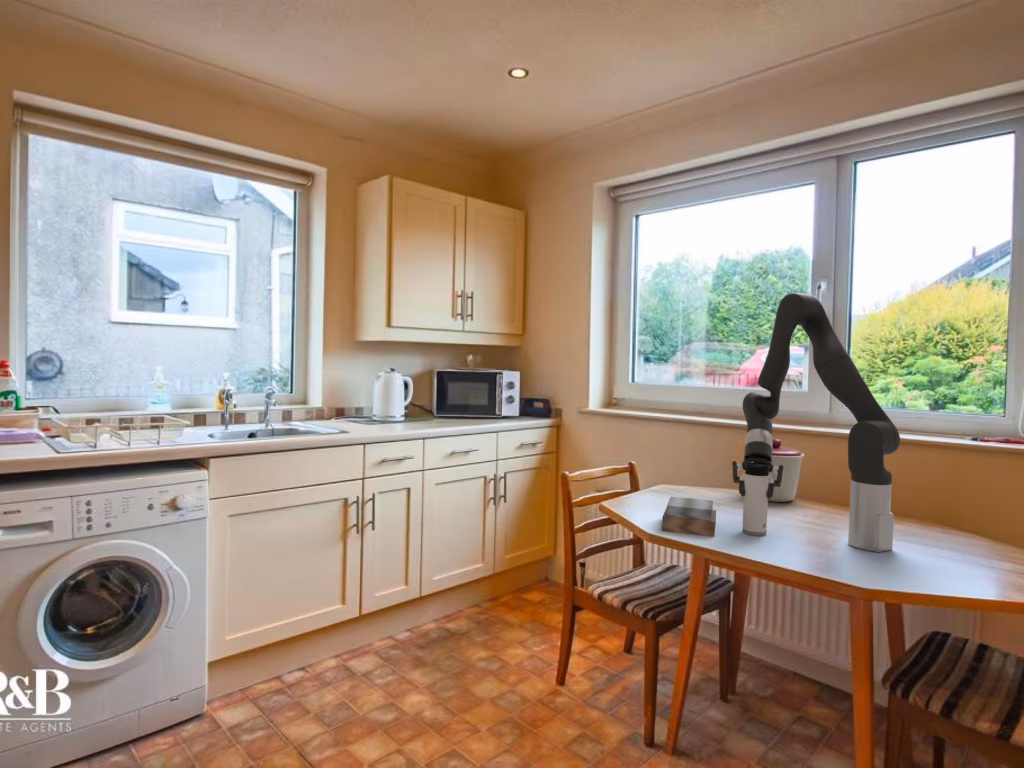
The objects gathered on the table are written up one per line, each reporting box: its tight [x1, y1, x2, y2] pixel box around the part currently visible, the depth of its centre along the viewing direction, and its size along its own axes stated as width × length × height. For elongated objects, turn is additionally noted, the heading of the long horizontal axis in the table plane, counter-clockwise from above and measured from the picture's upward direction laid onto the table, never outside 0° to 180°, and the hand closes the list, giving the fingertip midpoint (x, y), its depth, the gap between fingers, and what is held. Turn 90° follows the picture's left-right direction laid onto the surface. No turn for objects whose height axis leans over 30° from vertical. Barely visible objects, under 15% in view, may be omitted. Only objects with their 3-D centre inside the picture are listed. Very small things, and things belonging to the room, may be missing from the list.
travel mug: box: [742, 462, 770, 537], centre depth 170 cm, size 6×7×20 cm
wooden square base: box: [661, 496, 717, 537], centre depth 175 cm, size 14×14×7 cm
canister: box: [768, 438, 805, 503], centre depth 213 cm, size 18×18×21 cm
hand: (755, 495), depth 169 cm, fingers closed on travel mug, 6 cm apart
